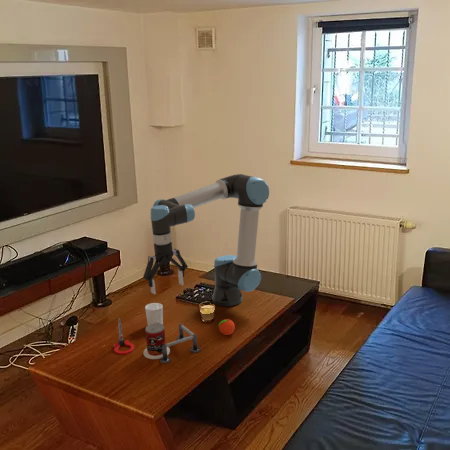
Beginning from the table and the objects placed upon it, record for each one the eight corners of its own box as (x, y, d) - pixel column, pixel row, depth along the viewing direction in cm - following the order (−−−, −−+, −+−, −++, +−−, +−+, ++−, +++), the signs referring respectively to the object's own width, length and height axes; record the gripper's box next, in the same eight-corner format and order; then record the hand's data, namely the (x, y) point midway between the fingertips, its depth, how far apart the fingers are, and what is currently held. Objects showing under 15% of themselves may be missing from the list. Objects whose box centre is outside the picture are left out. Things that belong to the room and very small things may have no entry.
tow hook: (137, 352, 231) (130, 342, 239) (134, 325, 227) (128, 315, 235) (117, 357, 228) (111, 346, 236) (114, 330, 223) (108, 320, 231)
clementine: (221, 339, 238) (220, 325, 236) (214, 333, 244) (214, 318, 242) (237, 335, 241) (237, 320, 239) (230, 329, 247) (230, 314, 245)
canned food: (144, 355, 226) (142, 331, 223) (151, 345, 234) (149, 322, 231) (162, 356, 225) (160, 332, 222) (168, 347, 232) (166, 323, 229)
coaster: (162, 343, 237) (162, 342, 237) (174, 353, 228) (174, 352, 228) (139, 351, 231) (139, 349, 231) (150, 362, 222) (150, 360, 222)
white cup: (161, 330, 248) (159, 310, 245) (144, 329, 250) (142, 309, 247) (166, 322, 255) (164, 303, 252) (150, 321, 257) (148, 302, 254)
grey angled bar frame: (183, 335, 243) (182, 321, 241) (202, 350, 229) (201, 335, 227) (145, 348, 233) (144, 333, 231) (162, 364, 220) (161, 349, 218)
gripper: (139, 252, 221) (145, 300, 227) (192, 237, 233) (196, 283, 240) (131, 247, 227) (137, 294, 233) (183, 233, 239) (188, 278, 246)
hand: (167, 288), depth 236 cm, fingers open, 13 cm apart
